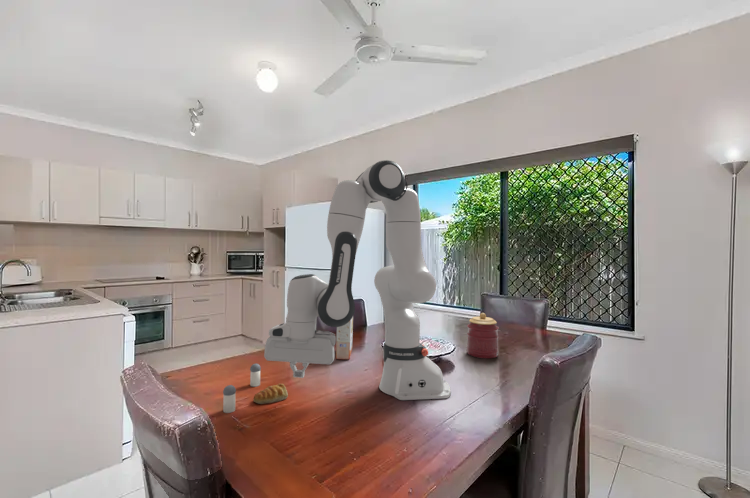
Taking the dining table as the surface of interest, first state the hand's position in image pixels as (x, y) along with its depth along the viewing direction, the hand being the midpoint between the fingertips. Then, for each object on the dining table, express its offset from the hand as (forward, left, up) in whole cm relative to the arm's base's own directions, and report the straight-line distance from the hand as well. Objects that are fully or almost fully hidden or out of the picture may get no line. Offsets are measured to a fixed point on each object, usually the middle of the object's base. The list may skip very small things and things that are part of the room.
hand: (298, 376), depth 105 cm
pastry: (+8, 0, -7) cm, 11 cm away
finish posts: (+17, 0, -7) cm, 18 cm away
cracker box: (-7, -44, -7) cm, 46 cm away
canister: (-65, -51, -7) cm, 83 cm away
